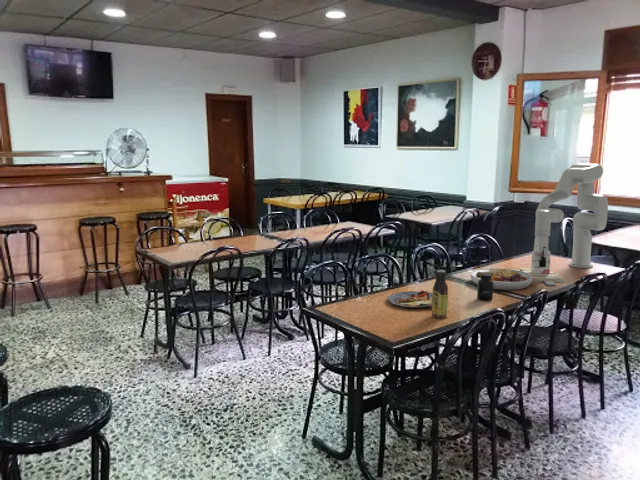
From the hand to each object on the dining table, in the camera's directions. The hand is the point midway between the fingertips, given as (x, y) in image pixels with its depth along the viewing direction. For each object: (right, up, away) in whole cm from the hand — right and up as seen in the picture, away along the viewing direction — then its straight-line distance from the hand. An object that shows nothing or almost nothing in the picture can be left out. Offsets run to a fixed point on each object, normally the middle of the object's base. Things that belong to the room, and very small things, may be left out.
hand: (540, 265), depth 275 cm
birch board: (0, -6, 0) cm, 6 cm away
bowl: (-26, -9, -12) cm, 30 cm away
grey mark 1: (-2, -9, -13) cm, 16 cm away
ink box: (0, -4, +1) cm, 4 cm away
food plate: (-76, -15, -42) cm, 88 cm away
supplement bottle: (-43, -14, -40) cm, 60 cm away
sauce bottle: (-70, -19, -63) cm, 96 cm away
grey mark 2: (-3, -8, -17) cm, 19 cm away
